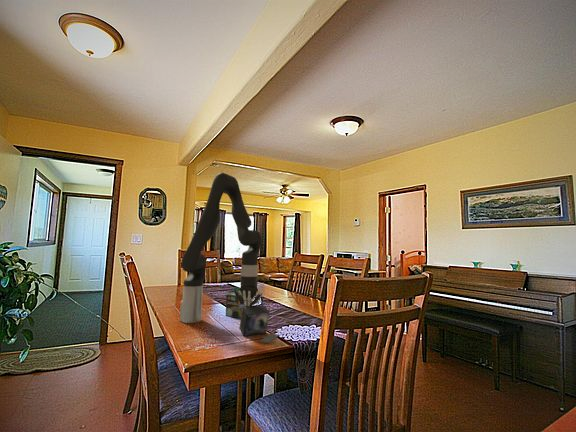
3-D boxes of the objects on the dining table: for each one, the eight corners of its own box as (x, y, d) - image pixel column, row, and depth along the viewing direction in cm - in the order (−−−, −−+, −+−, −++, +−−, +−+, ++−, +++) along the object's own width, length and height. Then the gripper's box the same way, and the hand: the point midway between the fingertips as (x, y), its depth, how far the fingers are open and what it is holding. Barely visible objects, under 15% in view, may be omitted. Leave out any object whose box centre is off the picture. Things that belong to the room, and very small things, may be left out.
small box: (243, 337, 129) (246, 314, 127) (238, 328, 134) (242, 306, 132) (266, 334, 134) (270, 312, 132) (261, 325, 139) (264, 304, 137)
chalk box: (249, 315, 165) (250, 287, 166) (238, 318, 158) (239, 289, 159) (236, 312, 170) (237, 285, 171) (224, 315, 163) (226, 287, 164)
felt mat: (259, 342, 123) (259, 340, 123) (270, 334, 133) (270, 333, 133) (269, 343, 122) (269, 342, 122) (279, 335, 132) (279, 334, 132)
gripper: (266, 274, 139) (265, 314, 137) (240, 273, 143) (238, 311, 142) (259, 276, 131) (258, 318, 130) (232, 274, 136) (230, 314, 135)
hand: (248, 314), depth 136 cm, fingers closed
